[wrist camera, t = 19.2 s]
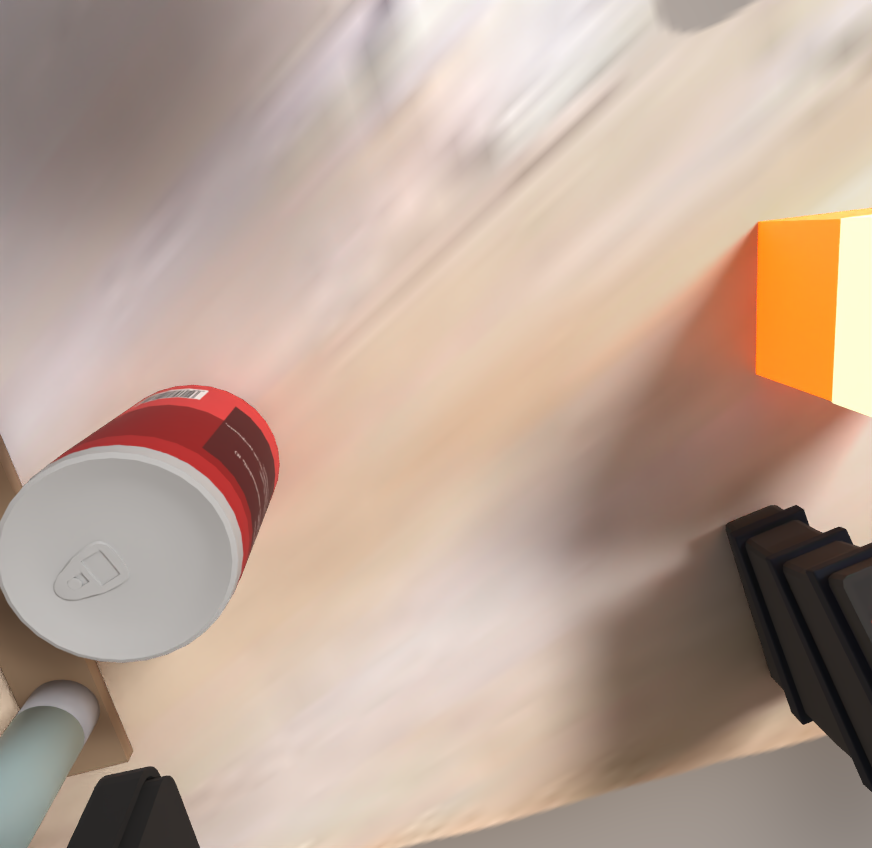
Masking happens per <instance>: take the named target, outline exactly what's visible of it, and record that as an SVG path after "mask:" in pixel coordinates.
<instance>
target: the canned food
mask: <svg viewBox="0 0 872 848" xmlns="http://www.w3.org/2000/svg"><path fill="white" fill-rule="evenodd" d="M279 466H280V465H279V454H278V448H277V445H276V442H275V438H274V435H273V434H272V432H271V430H270V428H269V426H268V425H267V423H266V421H265V420H264V419H263V418H262V417H261V416H260V414H259V413H258V412H257V411H256V410H255V409H254V408H253V407H252V406H250V405H249V404H248V403H246V402H245V401H244V400H243V399H241V398H239V397H237V396H235V395H233V394H231V393H229V392H227V391H223V390H220V389H217V388H213V387H208V386H198V385H187V386H176V387H172V388H168V389H165V390H161V391H158V392H156V393H154V394H152V395H150V396H148V397H146V398H144V399H143V400H141V401H140V402H138V403H137V404H135V405H134V406H133V407H131V408H130V409H128V410H127V411H125V412H124V413H122V414H121V415H119V416H118V417H116V418H115V419H113V420H112V421H110V422H109V423H107V424H106V425H105V426H103V427H102V428H100V429H99V430H97V431H96V432H94V433H93V434H91V435H90V436H88V437H87V438H85V439H84V440H82V441H81V442H80V443H78V444H77V445H75V446H74V447H72V448H71V449H69V450H68V451H66V452H65V453H63V454H62V455H61V456H60V457H58V458H57V459H56V460H54V461H53V462H52V463H50V464H49V465H47V466H46V467H45V468H44V469H42V470H41V471H40V472H38V473H37V474H36V475H35V476H33V477H32V478H31V479H30V480H29V481H28V482H27V484H25V485H24V486H23V488H22V489H21V490H20V491H19V492H18V493H17V495H16V496H15V497H14V498H13V499H12V501H11V502H10V503H9V505H8V507H7V509H6V511H5V513H4V515H3V517H2V519H1V521H0V587H1V590H2V592H3V594H4V596H5V598H6V600H7V603H8V604H9V606H10V607H11V608H12V610H13V611H14V612H15V614H16V615H17V616H18V618H19V619H20V620H21V621H22V622H23V623H24V624H25V625H26V626H27V627H28V628H29V629H30V630H32V631H33V632H34V633H35V634H36V635H37V636H38V637H40V638H42V639H43V640H45V641H47V642H48V643H50V644H51V645H53V646H55V647H56V648H58V649H61V650H63V651H66V652H68V653H71V654H73V655H76V656H78V657H83V658H87V659H92V660H96V661H102V662H120V663H125V662H135V661H144V660H149V659H152V658H156V657H160V656H163V655H167V654H169V653H171V652H173V651H175V650H178V649H180V648H182V647H184V646H186V645H188V644H189V643H191V642H192V641H193V640H195V639H196V638H197V637H199V636H200V635H202V634H203V633H204V632H205V631H206V630H207V629H208V628H209V627H210V626H211V625H212V624H213V623H214V622H215V621H216V620H217V619H218V617H219V616H220V614H221V613H222V611H223V610H224V608H225V607H226V605H227V604H228V602H229V600H230V599H231V597H232V595H233V594H234V592H235V590H236V587H237V584H238V582H239V580H240V578H241V576H242V573H243V571H244V568H245V566H246V563H247V560H248V558H249V555H250V552H251V550H252V547H253V545H254V542H255V539H256V537H257V534H258V532H259V529H260V526H261V524H262V521H263V518H264V516H265V513H266V511H267V508H268V505H269V503H270V500H271V498H272V495H273V492H274V489H275V486H276V484H277V481H278V474H279Z"/></svg>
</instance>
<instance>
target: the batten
mask: <svg viewBox="0 0 872 848" xmlns="http://www.w3.org/2000/svg"><path fill="white" fill-rule="evenodd" d="M22 488H23V487H22V485H21V482H20V480H19V477H18V475H17V473H16V470H15V468H14V466H13V463H12V461H11V458H10V456H9V454H8V451H7V449H6V446H5V444H4V442H3V439H2V437H1V435H0V521H1V519H2V517H3V515H4V513H5V511H6V509H7V507H8V505H9V503H10V502H11V501H12V499H13V498H14V497H15V496H16V495H17V493H18V492H19V491H20V490H21V489H22ZM0 667H1V670H2V672H3V674H4V676H5V678H6V680H7V682H8V684H9V687H10V689H11V691H12V693H13V695H14V697H15V699H16V702H17V704H18V706H19V708H20V709H21V708H22V707H23V705H24V704H25V702H26V701H27V700H28V698H29V697H30V696H31V694H32V693H33V692H34V690H35V689H36V688H38V687H39V686H40V685H42V684H44V683H46V682H49V681H53V680H71V681H75V682H78V683H80V684H82V685H84V686H85V687H87V688H88V689H89V690H91V691H92V693H93V694H94V695H95V696H96V698H97V700H98V703H99V706H100V715H99V718H98V721H97V723H96V725H95V726H94V728H93V730H92V732H91V734H90V735H89V737H88V739H87V741H86V743H85V744H84V746H83V748H82V750H81V752H80V753H79V755H78V757H77V759H76V761H75V762H74V764H73V766H72V768H71V770H70V771H69V773H68V775H67V777H69V776H73V775H77V774H81V773H85V772H89V771H93V770H97V769H101V768H105V767H109V766H113V765H117V764H121V763H125V762H128V761H129V759H130V757H131V754H132V752H133V749H132V747H131V744H130V742H129V740H128V737H127V735H126V733H125V730H124V728H123V725H122V723H121V721H120V718H119V716H118V713H117V711H116V709H115V706H114V704H113V702H112V699H111V697H110V694H109V692H108V690H107V687H106V685H105V682H104V680H103V678H102V675H101V673H100V671H99V668H98V666H97V663H96V661H95V660H92V659H87V658H83V657H78V656H76V655H73V654H71V653H68V652H66V651H63V650H61V649H58V648H56V647H55V646H53V645H51V644H50V643H48V642H47V641H45V640H43V639H42V638H40V637H38V636H37V635H36V634H35V633H34V632H33V631H32V630H30V629H29V628H28V627H27V626H26V625H25V624H24V623H23V622H22V621H21V620H20V619H19V618H18V616H17V615H16V614H15V612H14V611H13V610H12V608H11V607H10V606H9V604H8V603H7V600H6V598H5V596H4V594H3V592H2V590H1V587H0Z"/></svg>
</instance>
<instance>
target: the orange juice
mask: <svg viewBox="0 0 872 848" xmlns="http://www.w3.org/2000/svg"><path fill="white" fill-rule="evenodd" d="M756 374H757V375H760V376H762V377H765V378H768V379H771V380H773V381H776V382H779V383H782V384H785V385H787V386H790V387H793V388H796V389H798V390H801V391H804V392H807V393H810V394H812V395H815V396H818V397H821V398H823V399H826V400H829V401H832V403H834V404H836V405H839V406H842V407H845V408H847V409H850V410H853V411H856V412H858V413H861V414H864V415H867V416H870V417H872V208H867V209H858V210H850V211H842V212H834V213H826V214H818V215H809V216H801V217H793V218H785V219H777V220H769V221H760V222H758V269H757V331H756Z"/></svg>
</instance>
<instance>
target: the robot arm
mask: <svg viewBox="0 0 872 848" xmlns="http://www.w3.org/2000/svg"><path fill="white" fill-rule="evenodd" d="M67 848H200V846H199V844H198V841H197V838H196V836H195V833H194V830H193V828H192V825H191V823H190V820H189V817H188V815H187V812H186V809H185V807H184V804H183V801H182V799H181V796H180V794H179V791H178V788H177V786H176V783H175V781H174V779H173V778H172V777H171V776H163V777H161V776H160V774H159V772H158V770H157V769H155V768H154V767H144V768H140V769H135V770H130V771H125V772H121V773H116V774H111V775H107V776H104V777H103V778H101V779H100V780H99V782H98V783H97V785H96V786H95V788H94V790H93V793H92V795H91V797H90V799H89V801H88V803H87V805H86V808H85V810H84V812H83V814H82V816H81V818H80V820H79V822H78V825H77V827H76V829H75V831H74V833H73V835H72V837H71V840H70V842H69V844H68V846H67Z"/></svg>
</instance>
